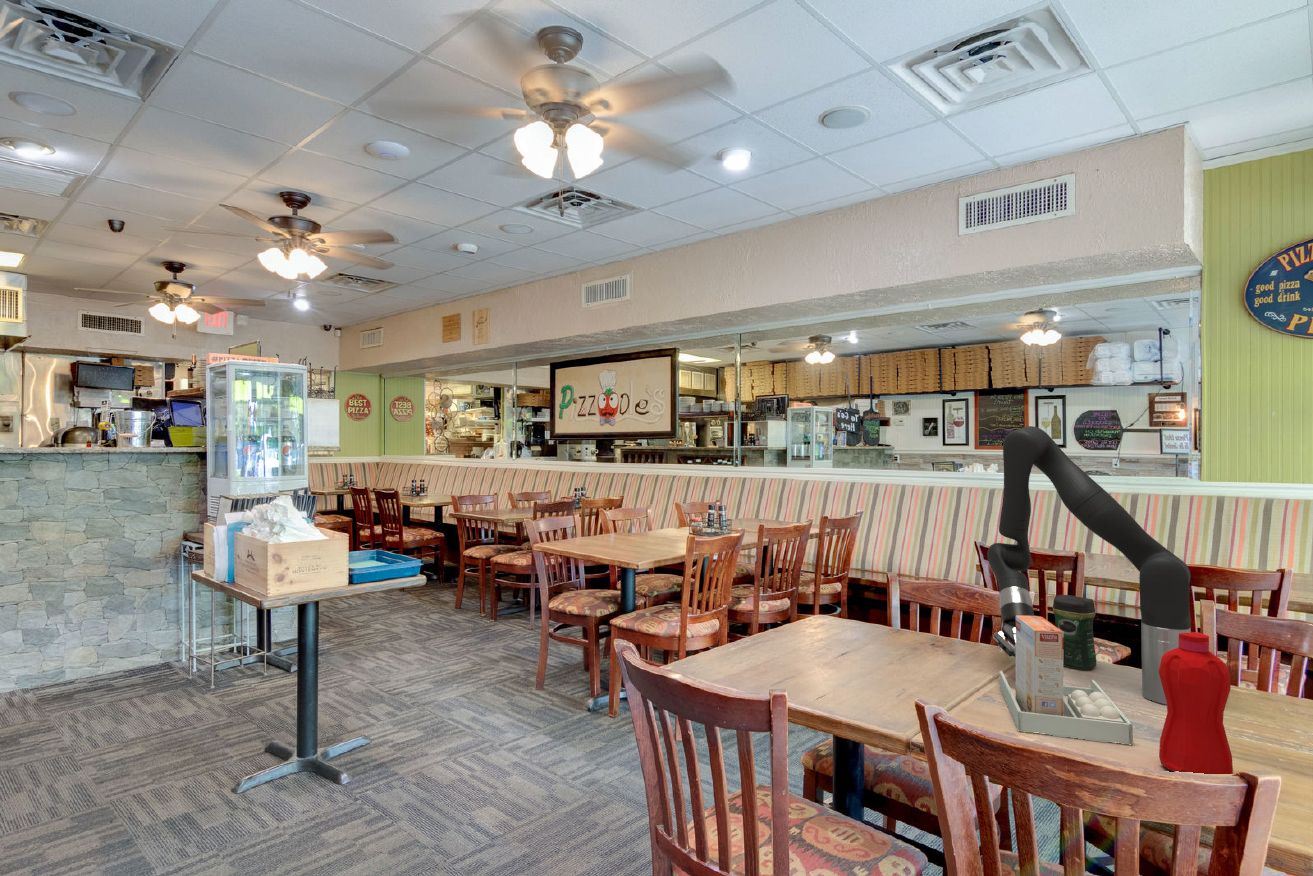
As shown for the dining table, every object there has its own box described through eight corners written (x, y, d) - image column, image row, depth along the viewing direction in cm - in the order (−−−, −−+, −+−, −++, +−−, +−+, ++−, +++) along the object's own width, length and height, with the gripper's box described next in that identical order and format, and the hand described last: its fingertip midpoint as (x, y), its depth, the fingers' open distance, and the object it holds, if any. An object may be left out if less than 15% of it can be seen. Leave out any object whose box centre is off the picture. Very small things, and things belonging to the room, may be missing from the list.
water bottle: (1186, 756, 131) (1184, 623, 131) (1243, 783, 120) (1241, 638, 120) (1142, 759, 129) (1141, 625, 130) (1196, 787, 118) (1194, 640, 119)
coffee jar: (1101, 667, 184) (1100, 597, 184) (1087, 673, 179) (1086, 601, 180) (1062, 658, 192) (1062, 591, 192) (1048, 663, 187) (1047, 594, 188)
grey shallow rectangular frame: (1094, 697, 162) (1094, 680, 162) (1132, 745, 135) (1132, 725, 135) (999, 687, 168) (999, 671, 168) (1018, 731, 142) (1018, 712, 142)
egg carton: (1104, 718, 150) (1104, 689, 150) (1123, 744, 136) (1123, 712, 137) (1067, 714, 152) (1067, 685, 152) (1083, 739, 139) (1082, 707, 139)
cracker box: (1065, 734, 140) (1064, 631, 141) (1033, 731, 142) (1032, 629, 142) (1044, 709, 154) (1043, 615, 154) (1014, 707, 155) (1014, 613, 156)
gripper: (989, 599, 176) (996, 661, 164) (1047, 602, 172) (1059, 667, 160) (986, 615, 181) (993, 676, 169) (1043, 619, 177) (1054, 682, 165)
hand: (1025, 671), depth 165 cm, fingers closed
